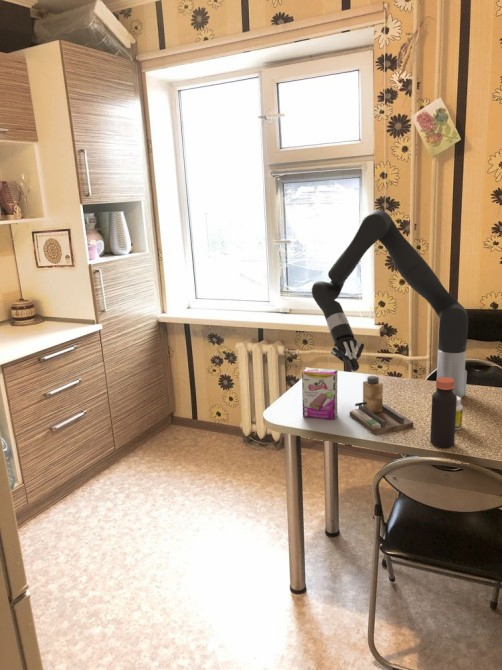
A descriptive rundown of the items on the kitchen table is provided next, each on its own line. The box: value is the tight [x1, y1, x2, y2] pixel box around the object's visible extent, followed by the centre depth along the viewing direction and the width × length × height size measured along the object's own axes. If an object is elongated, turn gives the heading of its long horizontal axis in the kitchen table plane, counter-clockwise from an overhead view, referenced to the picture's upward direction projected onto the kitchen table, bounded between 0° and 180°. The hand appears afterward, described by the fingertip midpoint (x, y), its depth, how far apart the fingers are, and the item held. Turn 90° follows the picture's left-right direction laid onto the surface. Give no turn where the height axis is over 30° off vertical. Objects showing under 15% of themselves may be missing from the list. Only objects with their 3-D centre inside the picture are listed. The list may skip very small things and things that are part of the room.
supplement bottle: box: [455, 396, 464, 431], centre depth 174 cm, size 5×5×10 cm
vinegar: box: [429, 377, 457, 449], centre depth 162 cm, size 7×7×20 cm
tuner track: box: [349, 404, 414, 436], centre depth 181 cm, size 14×16×4 cm
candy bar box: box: [301, 367, 338, 421], centre depth 185 cm, size 11×5×16 cm, turn 71°
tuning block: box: [354, 375, 384, 413], centre depth 183 cm, size 9×4×12 cm, turn 109°
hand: (356, 370), depth 193 cm, fingers closed
